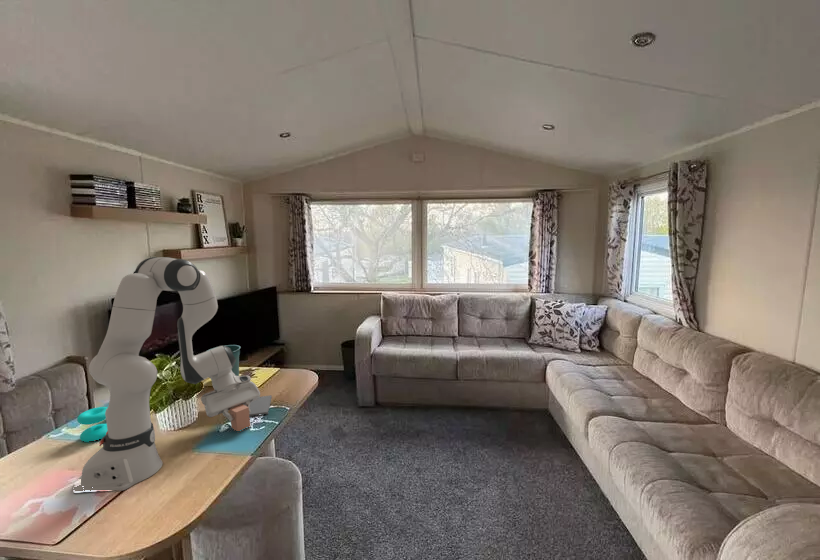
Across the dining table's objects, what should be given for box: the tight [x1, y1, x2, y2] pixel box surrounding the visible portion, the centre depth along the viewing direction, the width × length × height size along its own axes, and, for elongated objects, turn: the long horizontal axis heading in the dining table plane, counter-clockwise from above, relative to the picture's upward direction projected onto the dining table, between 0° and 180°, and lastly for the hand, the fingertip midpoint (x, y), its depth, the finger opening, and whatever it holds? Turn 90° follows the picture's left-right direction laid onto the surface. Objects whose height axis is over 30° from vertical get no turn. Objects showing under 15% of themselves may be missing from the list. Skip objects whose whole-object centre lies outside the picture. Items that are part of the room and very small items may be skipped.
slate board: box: [249, 395, 273, 417], centre depth 166 cm, size 14×17×1 cm
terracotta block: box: [229, 404, 251, 432], centre depth 148 cm, size 5×5×8 cm
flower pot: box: [206, 344, 242, 376], centre depth 198 cm, size 16×16×16 cm
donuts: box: [77, 406, 108, 443], centre depth 145 cm, size 10×10×10 cm
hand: (240, 416), depth 148 cm, fingers closed on terracotta block, 5 cm apart
